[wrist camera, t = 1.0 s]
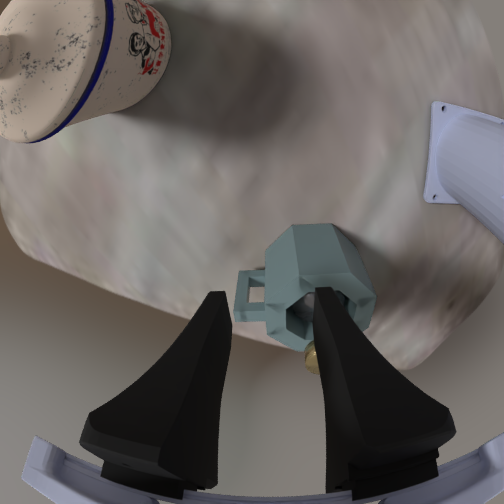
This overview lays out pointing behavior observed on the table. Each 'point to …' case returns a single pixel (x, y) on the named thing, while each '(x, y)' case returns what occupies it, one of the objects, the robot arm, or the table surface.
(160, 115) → the table surface
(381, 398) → the robot arm
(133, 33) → the teacup with lid
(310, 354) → the plunger
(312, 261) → the tea press body
